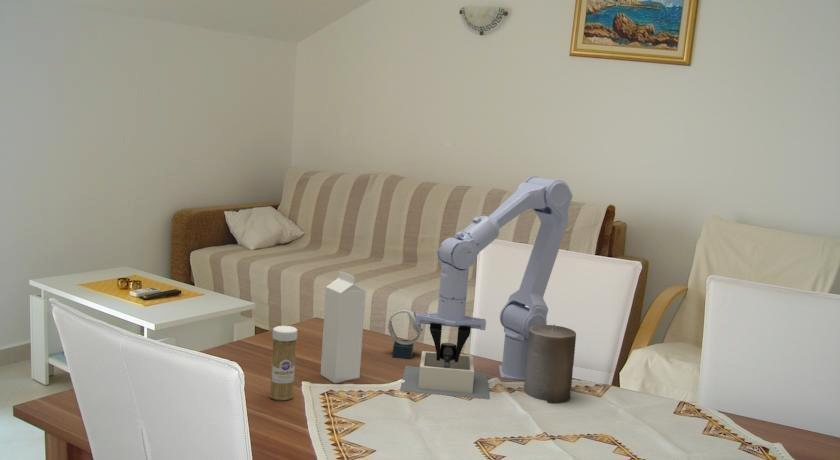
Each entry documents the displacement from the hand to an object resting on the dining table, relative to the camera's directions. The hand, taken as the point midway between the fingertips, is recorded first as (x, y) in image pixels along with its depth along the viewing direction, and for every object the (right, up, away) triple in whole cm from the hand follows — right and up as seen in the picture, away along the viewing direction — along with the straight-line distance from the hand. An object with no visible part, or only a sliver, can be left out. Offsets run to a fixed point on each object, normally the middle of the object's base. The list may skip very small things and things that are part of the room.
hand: (447, 359), depth 154 cm
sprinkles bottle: (-32, -5, -14) cm, 35 cm away
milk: (-22, -4, -1) cm, 23 cm away
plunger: (0, -5, +1) cm, 5 cm away
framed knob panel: (0, -5, +1) cm, 5 cm away
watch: (-10, -2, +17) cm, 20 cm away
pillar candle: (+20, -7, -1) cm, 22 cm away
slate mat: (0, -5, +1) cm, 5 cm away
